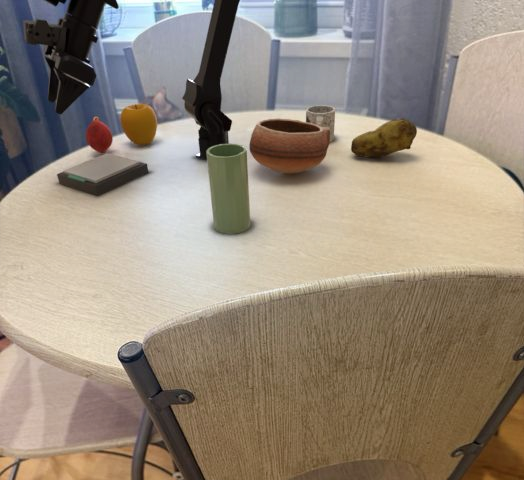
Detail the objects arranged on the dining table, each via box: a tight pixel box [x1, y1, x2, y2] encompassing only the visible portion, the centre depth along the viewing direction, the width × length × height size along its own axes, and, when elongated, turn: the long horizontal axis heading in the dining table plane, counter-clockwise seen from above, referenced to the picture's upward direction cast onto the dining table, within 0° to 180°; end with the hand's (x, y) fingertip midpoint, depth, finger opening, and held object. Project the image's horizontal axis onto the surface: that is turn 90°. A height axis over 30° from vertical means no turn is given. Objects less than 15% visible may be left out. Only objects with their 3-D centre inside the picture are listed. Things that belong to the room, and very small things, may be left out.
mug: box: [305, 104, 336, 143], centre depth 122 cm, size 10×7×7 cm, turn 172°
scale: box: [56, 152, 150, 197], centre depth 111 cm, size 14×12×3 cm
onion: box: [85, 116, 114, 155], centre depth 121 cm, size 6×6×8 cm
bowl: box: [248, 118, 331, 174], centre depth 108 cm, size 16×16×10 cm
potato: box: [350, 118, 418, 158], centre depth 113 cm, size 8×13×8 cm, turn 63°
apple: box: [119, 103, 158, 147], centre depth 125 cm, size 8×8×9 cm
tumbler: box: [206, 143, 251, 235], centre depth 88 cm, size 6×6×13 cm
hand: (54, 107), depth 100 cm, fingers open, 9 cm apart
